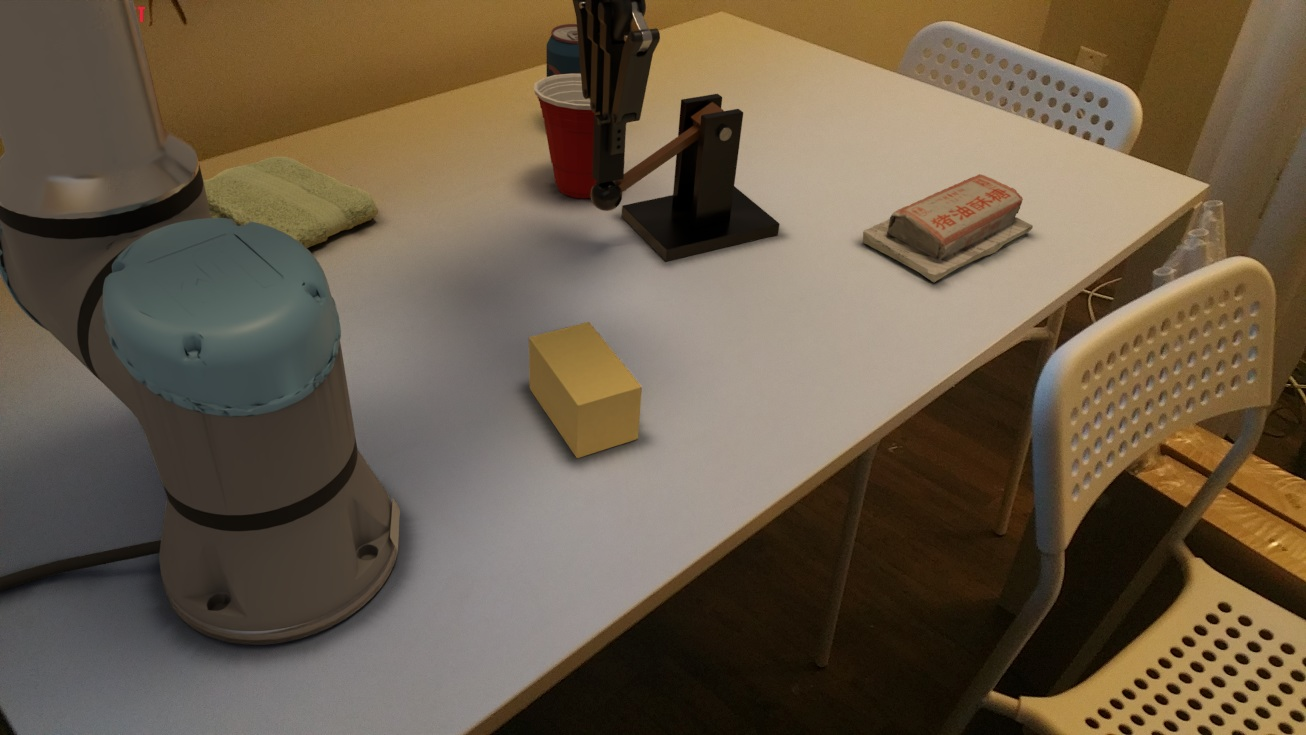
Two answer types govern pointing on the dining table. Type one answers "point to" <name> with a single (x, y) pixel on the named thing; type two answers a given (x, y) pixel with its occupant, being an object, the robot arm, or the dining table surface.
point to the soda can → (563, 51)
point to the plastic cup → (568, 132)
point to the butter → (584, 389)
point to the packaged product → (951, 227)
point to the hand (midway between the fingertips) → (607, 177)
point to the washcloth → (288, 199)
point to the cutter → (702, 192)
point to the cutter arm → (647, 164)
